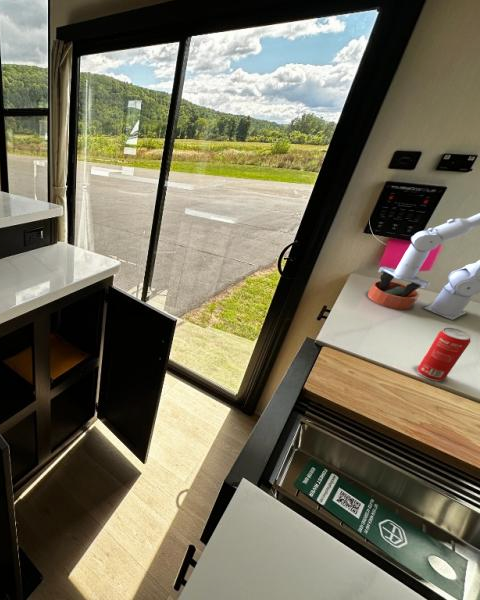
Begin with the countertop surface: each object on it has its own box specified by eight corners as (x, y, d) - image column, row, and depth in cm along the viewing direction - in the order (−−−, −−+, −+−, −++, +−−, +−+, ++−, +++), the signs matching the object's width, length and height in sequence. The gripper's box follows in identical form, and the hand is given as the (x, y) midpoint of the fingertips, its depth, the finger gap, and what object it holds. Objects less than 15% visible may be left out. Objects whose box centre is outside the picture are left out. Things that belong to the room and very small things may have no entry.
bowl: (380, 288, 130) (386, 277, 128) (419, 304, 120) (427, 292, 117) (360, 295, 126) (365, 285, 123) (399, 313, 116) (406, 301, 113)
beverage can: (448, 383, 88) (484, 342, 80) (421, 380, 89) (453, 339, 81) (433, 368, 93) (465, 327, 85) (407, 365, 94) (437, 325, 86)
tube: (390, 293, 126) (395, 284, 124) (402, 298, 123) (408, 289, 121) (376, 299, 123) (381, 290, 121) (388, 304, 120) (394, 295, 118)
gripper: (381, 258, 119) (364, 289, 126) (429, 274, 108) (408, 307, 115) (392, 254, 121) (375, 285, 129) (440, 270, 110) (419, 302, 117)
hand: (391, 295), depth 122 cm, fingers open, 6 cm apart
